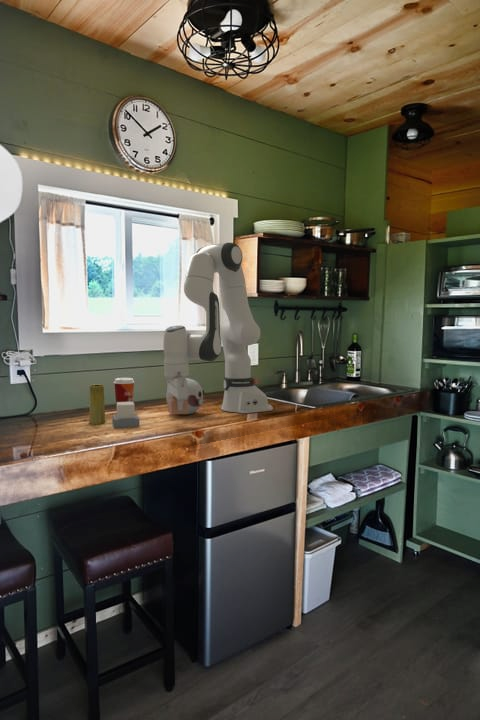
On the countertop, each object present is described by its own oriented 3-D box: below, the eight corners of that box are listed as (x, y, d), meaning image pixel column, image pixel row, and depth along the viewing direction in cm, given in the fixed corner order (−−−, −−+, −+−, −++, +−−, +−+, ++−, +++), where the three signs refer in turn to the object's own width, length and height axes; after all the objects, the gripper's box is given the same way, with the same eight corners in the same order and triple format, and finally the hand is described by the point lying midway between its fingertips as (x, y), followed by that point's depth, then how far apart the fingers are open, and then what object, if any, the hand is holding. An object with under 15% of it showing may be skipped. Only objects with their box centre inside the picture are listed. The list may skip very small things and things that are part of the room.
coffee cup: (129, 418, 196) (129, 380, 194) (110, 417, 198) (110, 379, 196) (138, 413, 204) (138, 377, 203) (119, 412, 206) (119, 377, 204)
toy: (196, 419, 195) (196, 381, 194) (160, 416, 199) (160, 379, 197) (208, 411, 210) (208, 376, 208) (174, 409, 213) (174, 375, 212)
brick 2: (183, 409, 187) (183, 396, 186) (187, 413, 181) (187, 399, 180) (168, 411, 184) (167, 398, 184) (171, 414, 179) (171, 401, 178)
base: (136, 421, 191) (136, 413, 191) (139, 426, 183) (139, 418, 182) (112, 422, 188) (112, 414, 188) (114, 427, 180) (114, 419, 179)
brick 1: (132, 414, 189) (132, 401, 188) (134, 417, 183) (134, 404, 183) (116, 415, 187) (116, 402, 187) (118, 418, 181) (117, 405, 181)
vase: (108, 421, 190) (108, 384, 188) (99, 424, 184) (98, 387, 183) (95, 420, 192) (94, 383, 190) (85, 423, 186) (84, 385, 185)
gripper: (191, 373, 172) (192, 412, 174) (179, 366, 191) (180, 401, 193) (173, 375, 170) (175, 414, 172) (162, 367, 189) (164, 403, 191)
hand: (177, 407), depth 183 cm, fingers closed on brick 2, 6 cm apart
